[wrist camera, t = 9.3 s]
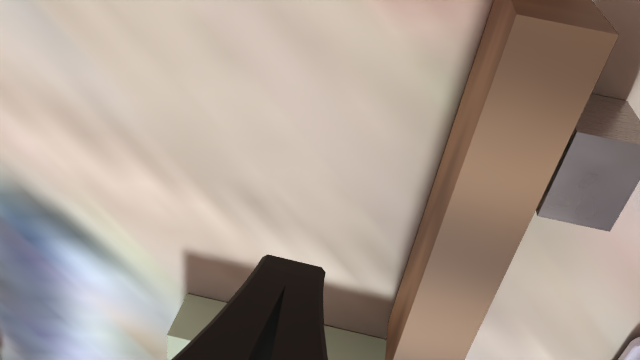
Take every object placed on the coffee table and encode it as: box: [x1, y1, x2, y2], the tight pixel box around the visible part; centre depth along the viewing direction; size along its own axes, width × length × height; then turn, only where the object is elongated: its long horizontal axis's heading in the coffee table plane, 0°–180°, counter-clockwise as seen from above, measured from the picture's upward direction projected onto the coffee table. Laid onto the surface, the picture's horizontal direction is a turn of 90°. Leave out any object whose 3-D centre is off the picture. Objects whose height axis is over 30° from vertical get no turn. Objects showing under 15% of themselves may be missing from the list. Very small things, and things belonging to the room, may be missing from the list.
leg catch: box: [536, 94, 640, 232], centre depth 17 cm, size 2×3×3 cm
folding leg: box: [385, 0, 619, 360], centre depth 19 cm, size 16×2×4 cm, turn 172°
